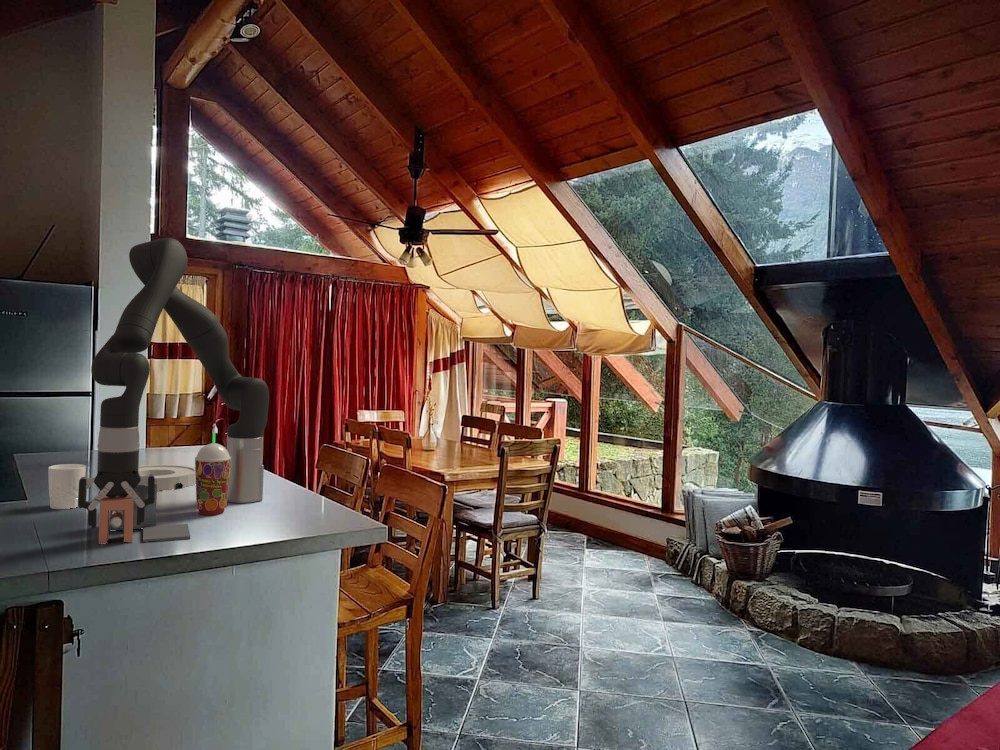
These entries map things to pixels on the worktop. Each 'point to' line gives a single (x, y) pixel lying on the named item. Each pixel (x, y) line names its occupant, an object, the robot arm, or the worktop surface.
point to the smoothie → (212, 478)
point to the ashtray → (170, 475)
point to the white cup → (65, 485)
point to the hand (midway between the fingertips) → (116, 525)
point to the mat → (166, 532)
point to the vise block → (149, 515)
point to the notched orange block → (115, 504)
